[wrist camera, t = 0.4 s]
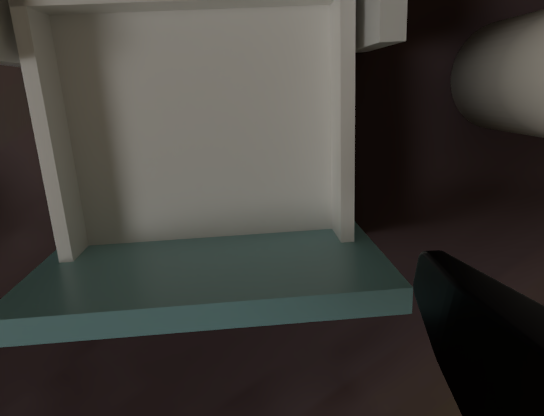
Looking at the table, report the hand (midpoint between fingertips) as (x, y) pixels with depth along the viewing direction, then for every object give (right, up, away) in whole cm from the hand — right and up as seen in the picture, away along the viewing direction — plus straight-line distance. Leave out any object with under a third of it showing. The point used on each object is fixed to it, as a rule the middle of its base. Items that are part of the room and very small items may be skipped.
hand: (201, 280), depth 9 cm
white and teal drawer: (-2, +6, +12) cm, 14 cm away
